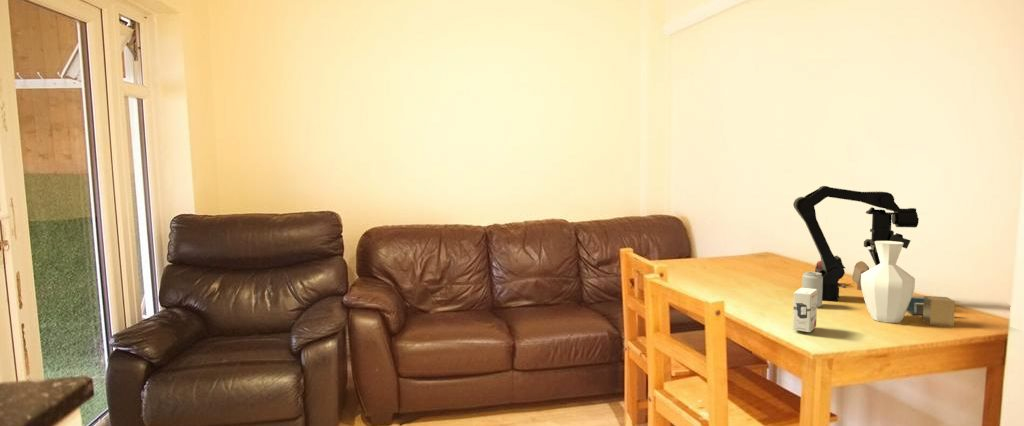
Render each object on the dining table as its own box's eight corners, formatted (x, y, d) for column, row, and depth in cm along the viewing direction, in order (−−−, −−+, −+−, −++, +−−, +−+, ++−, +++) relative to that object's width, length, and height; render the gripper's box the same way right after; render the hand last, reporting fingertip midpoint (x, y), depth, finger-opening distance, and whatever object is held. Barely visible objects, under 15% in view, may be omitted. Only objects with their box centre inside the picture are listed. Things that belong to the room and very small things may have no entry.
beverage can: (819, 304, 196) (821, 271, 195) (823, 309, 190) (824, 274, 189) (799, 303, 198) (800, 270, 197) (803, 307, 192) (804, 273, 191)
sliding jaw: (882, 305, 190) (882, 296, 190) (879, 304, 193) (880, 294, 192) (942, 309, 185) (943, 299, 184) (939, 307, 187) (940, 298, 187)
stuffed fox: (846, 291, 216) (847, 261, 215) (814, 288, 222) (815, 259, 221) (846, 288, 223) (847, 258, 222) (814, 285, 228) (815, 256, 228)
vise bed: (912, 315, 181) (912, 313, 181) (896, 304, 196) (896, 302, 196) (952, 318, 177) (952, 316, 177) (932, 306, 192) (932, 304, 192)
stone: (856, 292, 215) (867, 295, 214) (862, 269, 213) (873, 271, 212) (850, 280, 232) (860, 282, 230) (855, 259, 230) (866, 261, 228)
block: (930, 325, 169) (931, 300, 169) (922, 320, 175) (923, 295, 174) (953, 327, 167) (954, 301, 167) (945, 321, 173) (946, 297, 172)
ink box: (799, 323, 173) (800, 286, 172) (816, 326, 170) (818, 288, 169) (792, 329, 166) (793, 291, 165) (810, 332, 163) (811, 293, 162)
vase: (914, 328, 167) (918, 246, 165) (859, 321, 174) (862, 243, 172) (910, 317, 179) (914, 241, 177) (859, 311, 186) (862, 238, 184)
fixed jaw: (916, 313, 180) (916, 304, 180) (913, 312, 182) (914, 302, 182) (952, 316, 177) (953, 306, 177) (950, 314, 179) (950, 304, 179)
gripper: (918, 230, 184) (915, 276, 185) (899, 224, 202) (897, 266, 203) (879, 229, 188) (877, 274, 189) (864, 224, 205) (862, 265, 206)
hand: (879, 270), depth 197 cm, fingers closed
